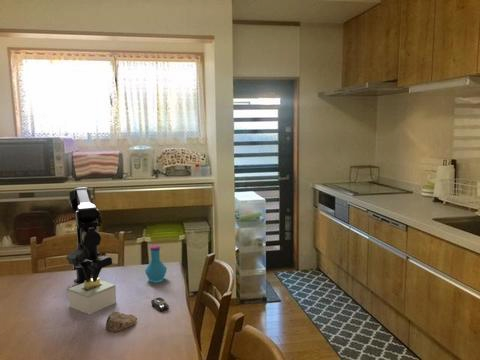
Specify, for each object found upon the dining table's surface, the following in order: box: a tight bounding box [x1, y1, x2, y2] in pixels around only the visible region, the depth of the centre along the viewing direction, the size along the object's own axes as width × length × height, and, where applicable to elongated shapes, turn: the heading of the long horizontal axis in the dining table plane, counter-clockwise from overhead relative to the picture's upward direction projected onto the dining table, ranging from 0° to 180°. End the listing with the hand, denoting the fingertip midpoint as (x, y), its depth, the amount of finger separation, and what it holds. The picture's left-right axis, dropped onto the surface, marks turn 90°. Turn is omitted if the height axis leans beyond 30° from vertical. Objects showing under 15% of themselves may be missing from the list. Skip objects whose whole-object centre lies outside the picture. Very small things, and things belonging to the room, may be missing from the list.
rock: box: [104, 311, 138, 333], centre depth 134 cm, size 9×6×10 cm
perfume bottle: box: [144, 245, 168, 283], centre depth 174 cm, size 9×9×15 cm
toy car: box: [148, 282, 170, 312], centre depth 149 cm, size 4×12×8 cm, turn 40°
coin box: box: [67, 279, 117, 315], centre depth 151 cm, size 12×12×7 cm
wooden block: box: [84, 277, 101, 291], centre depth 150 cm, size 2×5×4 cm, turn 147°
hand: (91, 280), depth 150 cm, fingers open, 3 cm apart
